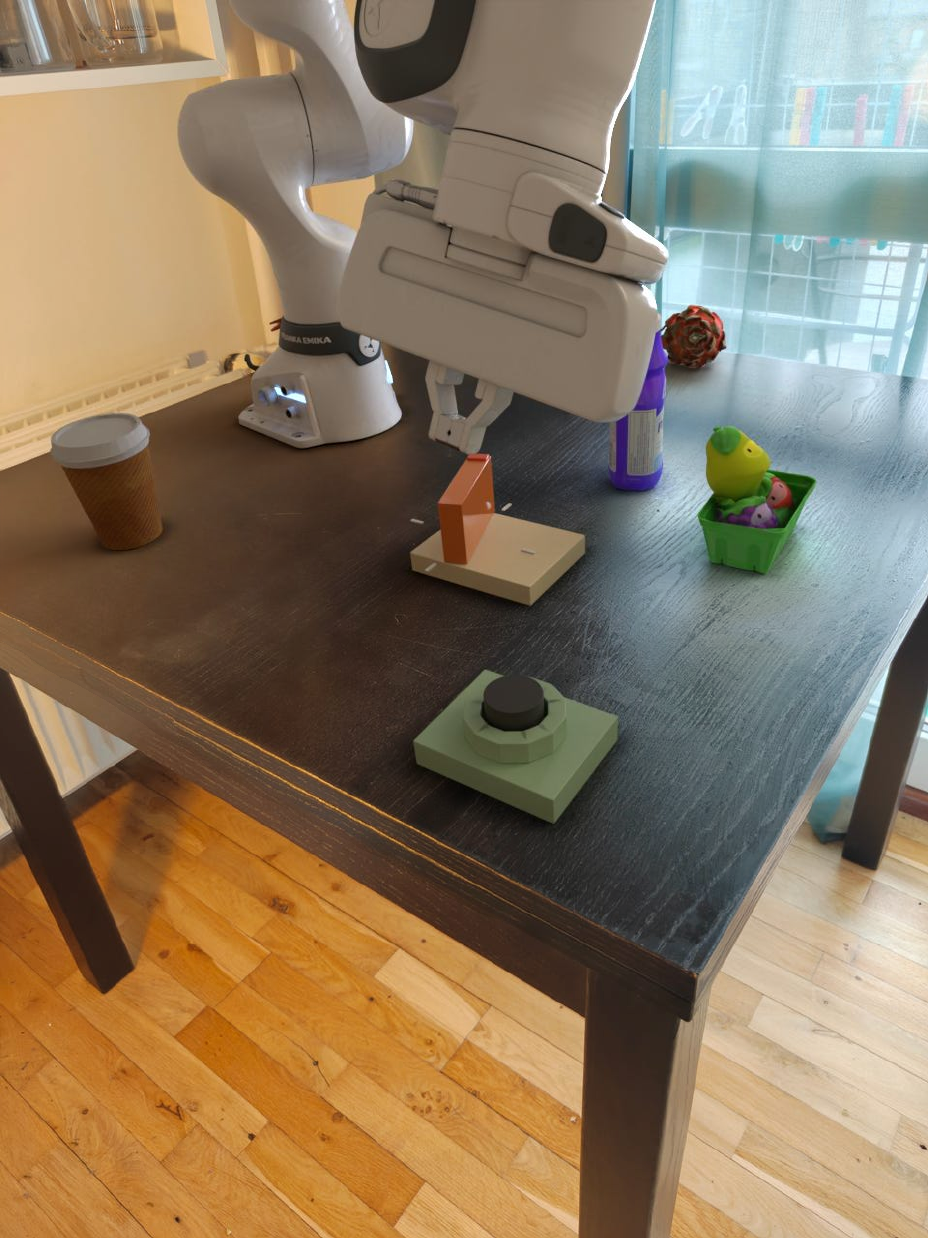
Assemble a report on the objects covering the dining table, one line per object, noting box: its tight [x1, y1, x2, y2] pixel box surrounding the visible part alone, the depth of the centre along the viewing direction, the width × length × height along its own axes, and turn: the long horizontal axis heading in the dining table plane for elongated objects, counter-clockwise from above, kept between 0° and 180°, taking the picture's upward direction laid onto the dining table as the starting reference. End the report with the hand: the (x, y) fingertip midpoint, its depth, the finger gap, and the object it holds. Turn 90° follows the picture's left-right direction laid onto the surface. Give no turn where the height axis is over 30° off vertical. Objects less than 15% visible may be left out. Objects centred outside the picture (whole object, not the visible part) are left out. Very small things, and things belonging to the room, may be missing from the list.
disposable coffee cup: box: [49, 412, 163, 551], centre depth 90 cm, size 10×10×12 cm
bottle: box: [608, 312, 669, 491], centre depth 89 cm, size 7×6×17 cm
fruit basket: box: [697, 425, 818, 575], centre depth 78 cm, size 11×9×11 cm
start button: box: [483, 674, 544, 732], centre depth 58 cm, size 4×4×2 cm
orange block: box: [437, 453, 496, 564], centre depth 81 cm, size 10×2×6 cm, turn 164°
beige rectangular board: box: [409, 502, 586, 606], centre depth 83 cm, size 17×14×2 cm
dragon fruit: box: [661, 304, 727, 370], centre depth 120 cm, size 8×8×12 cm
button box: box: [412, 669, 619, 825], centre depth 60 cm, size 11×9×4 cm
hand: (453, 446), depth 55 cm, fingers closed
